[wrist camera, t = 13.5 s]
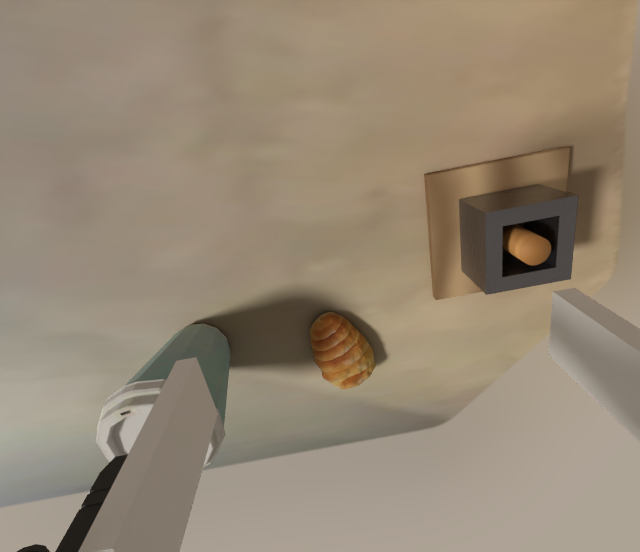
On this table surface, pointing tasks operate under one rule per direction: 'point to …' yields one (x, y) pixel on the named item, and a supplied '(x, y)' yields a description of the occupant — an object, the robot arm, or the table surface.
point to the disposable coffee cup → (143, 389)
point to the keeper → (477, 181)
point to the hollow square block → (535, 215)
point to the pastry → (341, 351)
